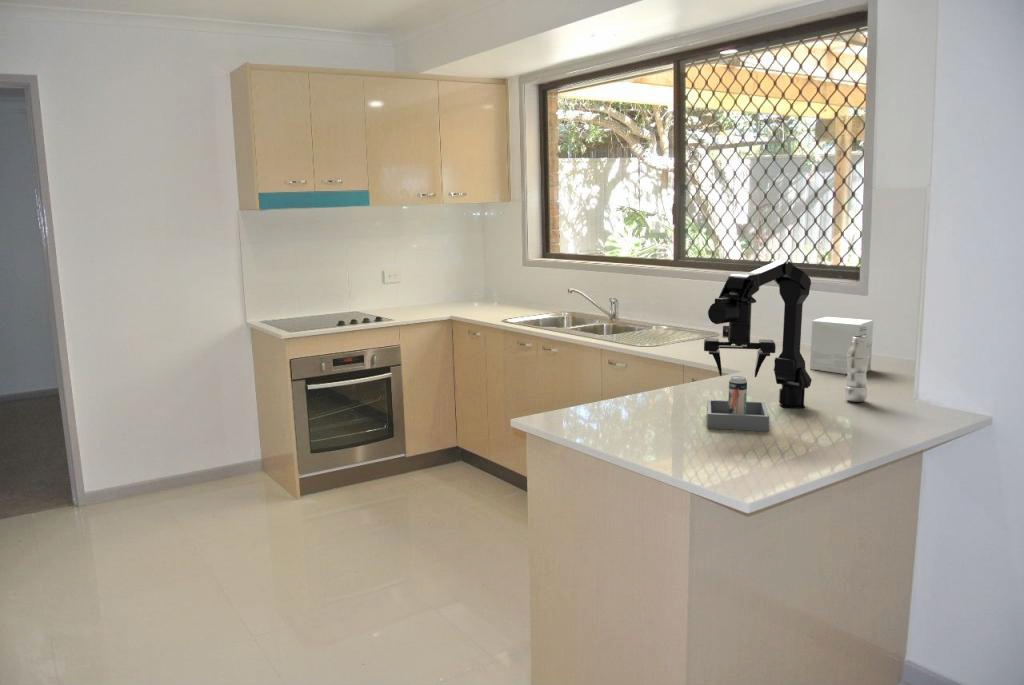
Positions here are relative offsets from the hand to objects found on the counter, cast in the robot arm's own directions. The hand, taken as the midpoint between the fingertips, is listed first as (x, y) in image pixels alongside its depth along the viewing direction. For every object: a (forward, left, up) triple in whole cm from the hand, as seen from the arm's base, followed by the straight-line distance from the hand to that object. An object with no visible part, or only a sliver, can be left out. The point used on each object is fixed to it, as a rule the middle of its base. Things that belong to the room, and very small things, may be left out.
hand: (737, 376), depth 223 cm
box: (0, 0, -13) cm, 13 cm away
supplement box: (-39, -76, -13) cm, 86 cm away
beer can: (0, 0, -13) cm, 13 cm away
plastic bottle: (-36, -29, -13) cm, 48 cm away
